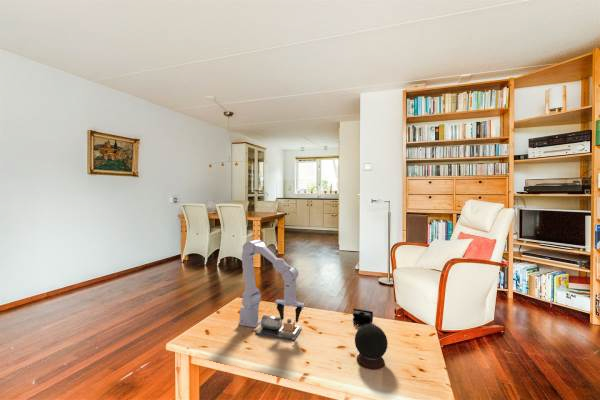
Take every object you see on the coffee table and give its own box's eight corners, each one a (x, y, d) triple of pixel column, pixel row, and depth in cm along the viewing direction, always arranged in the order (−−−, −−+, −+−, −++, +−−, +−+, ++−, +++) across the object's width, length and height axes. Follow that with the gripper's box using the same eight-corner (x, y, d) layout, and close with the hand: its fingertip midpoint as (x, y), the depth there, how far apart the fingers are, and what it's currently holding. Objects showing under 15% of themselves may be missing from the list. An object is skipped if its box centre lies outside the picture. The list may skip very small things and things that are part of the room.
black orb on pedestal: (386, 355, 124) (387, 321, 123) (387, 374, 111) (388, 335, 111) (355, 350, 127) (356, 317, 127) (352, 367, 115) (353, 330, 114)
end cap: (373, 322, 157) (373, 309, 157) (370, 327, 150) (371, 314, 150) (354, 318, 161) (355, 306, 160) (351, 323, 154) (352, 311, 154)
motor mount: (255, 334, 141) (255, 320, 141) (265, 323, 152) (265, 310, 152) (294, 340, 135) (294, 326, 135) (301, 329, 146) (301, 315, 146)
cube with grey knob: (283, 333, 140) (283, 320, 140) (286, 329, 144) (286, 317, 144) (292, 334, 139) (292, 322, 139) (294, 330, 143) (295, 318, 143)
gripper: (273, 294, 140) (272, 321, 140) (301, 297, 136) (301, 326, 136) (278, 289, 147) (277, 315, 147) (305, 292, 142) (305, 320, 143)
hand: (289, 320), depth 142 cm, fingers open, 7 cm apart
